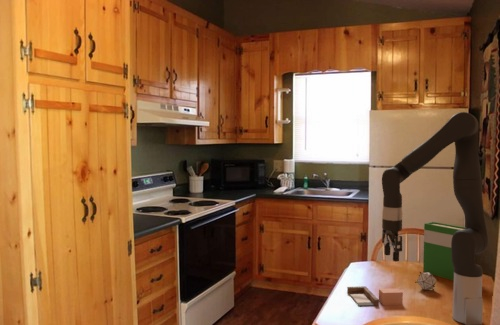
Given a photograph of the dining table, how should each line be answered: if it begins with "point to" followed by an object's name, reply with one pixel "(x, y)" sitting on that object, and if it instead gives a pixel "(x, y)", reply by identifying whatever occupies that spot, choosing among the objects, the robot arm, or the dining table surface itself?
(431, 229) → the hardback book
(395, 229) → the robot arm
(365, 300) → the tray
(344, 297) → the dining table surface
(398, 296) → the block
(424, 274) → the game die
